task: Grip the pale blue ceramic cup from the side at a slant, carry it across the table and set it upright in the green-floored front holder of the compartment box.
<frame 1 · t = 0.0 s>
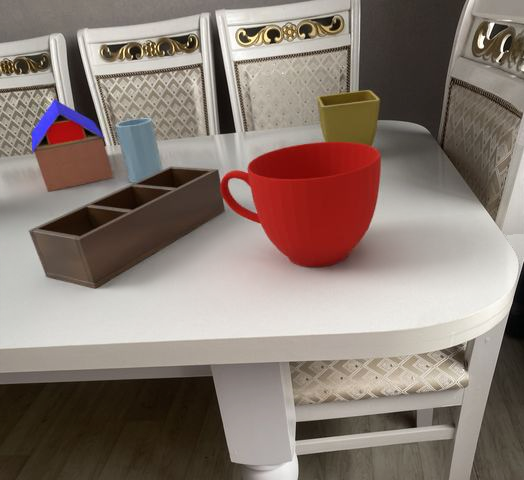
compartment box: (143, 240, 66), on the table
house: (77, 173, 100), on the table
flower pot: (348, 157, 87), on the table
blue cup: (146, 177, 90), on the table
ceramic cup: (301, 254, 58), on the table
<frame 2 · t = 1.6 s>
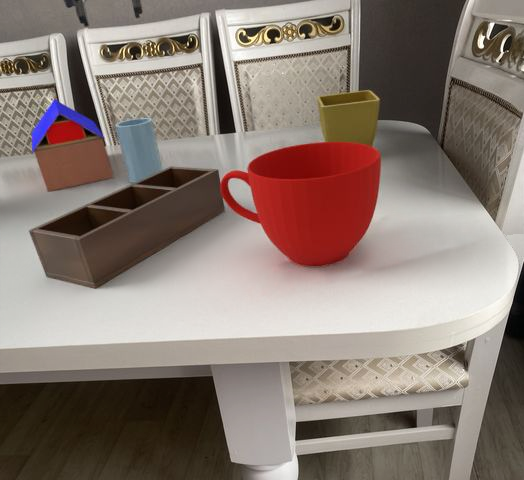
hand: (111, 18, 87), 23 cm above the table, tool tilted 45°, fingers open, 8 cm apart
nothing on the table moved.
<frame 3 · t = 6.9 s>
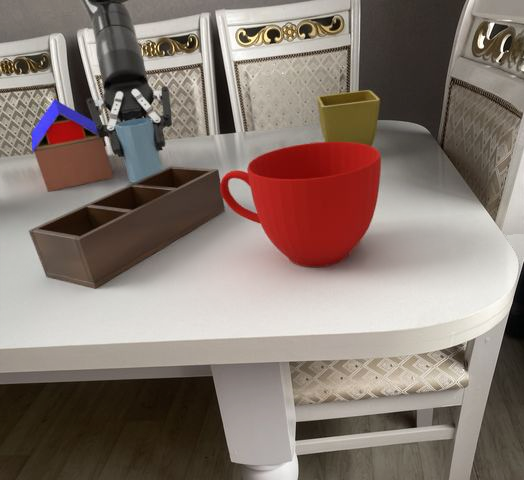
hand: (140, 150, 86), 5 cm above the table, tool tilted 45°, fingers closed on blue cup, 6 cm apart
blue cup: (146, 177, 90), on the table, touching gripper
everything else where it was.
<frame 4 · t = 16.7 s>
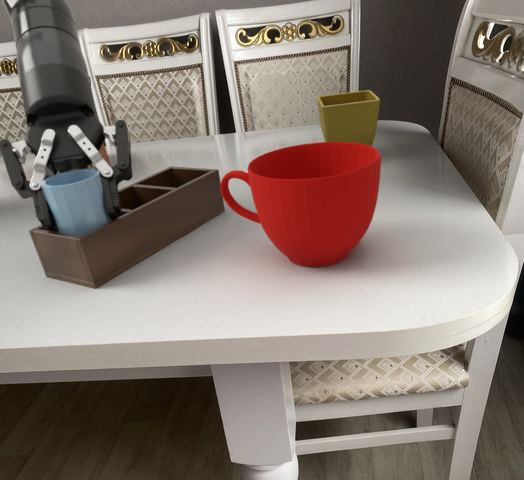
hand: (81, 220, 56), 6 cm above the table, tool tilted 45°, fingers closed on blue cup, 6 cm apart
blue cup: (95, 256, 60), point 1 cm above the table, touching gripper
everything else where it was.
when the fingers open (7 cm above the table, at t = 23.9 s): blue cup drops 1 cm, resting on compartment box.
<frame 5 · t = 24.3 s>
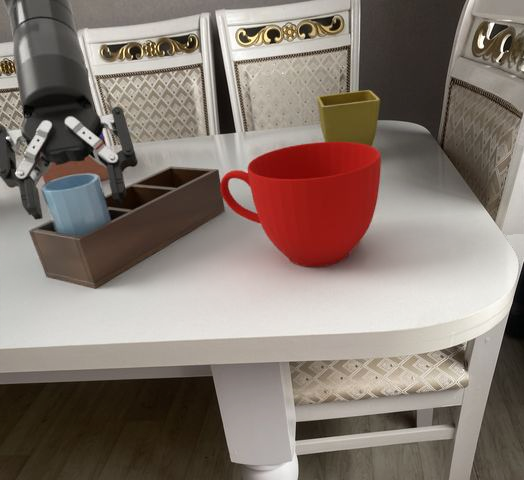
hand: (77, 208, 56), 7 cm above the table, tool tilted 45°, fingers open, 8 cm apart
blue cup: (95, 260, 60), point 1 cm above the table, touching compartment box
everything else where it was.
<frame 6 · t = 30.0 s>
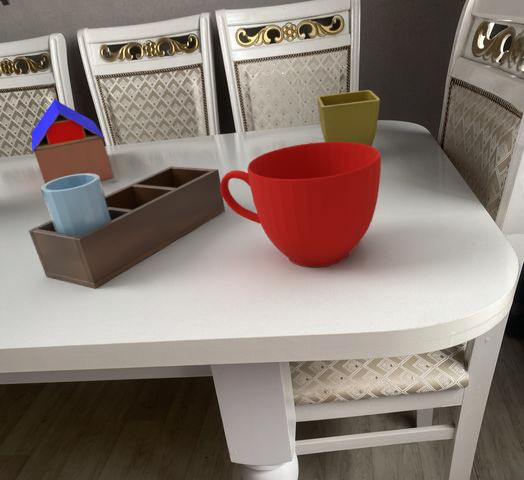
nothing on the table moved.
at the end: blue cup 0.2 cm from the target spot in the compartment box, point 0.8 cm above the compartment box's base; blue cup tilted 0°; the gripper is holding nothing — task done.
